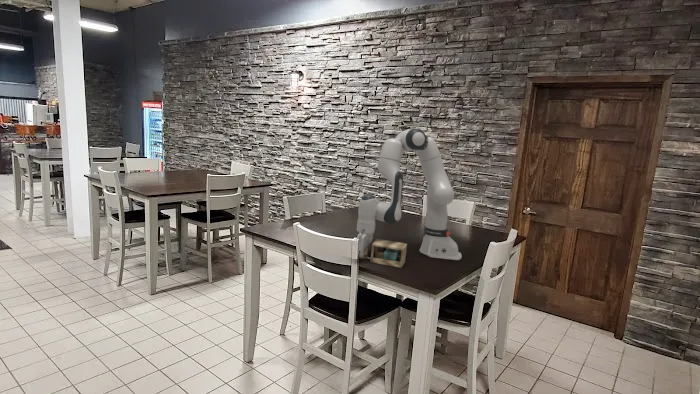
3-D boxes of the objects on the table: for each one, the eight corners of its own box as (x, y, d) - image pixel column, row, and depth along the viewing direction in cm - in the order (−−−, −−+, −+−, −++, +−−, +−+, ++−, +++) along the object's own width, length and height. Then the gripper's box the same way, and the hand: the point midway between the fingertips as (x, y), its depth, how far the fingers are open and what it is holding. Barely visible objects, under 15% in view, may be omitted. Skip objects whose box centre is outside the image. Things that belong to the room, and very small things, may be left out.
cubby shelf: (405, 261, 198) (407, 243, 196) (401, 267, 188) (403, 249, 187) (375, 256, 202) (376, 238, 200) (370, 262, 192) (372, 243, 191)
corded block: (397, 261, 197) (398, 250, 196) (395, 265, 191) (396, 253, 190) (360, 255, 202) (361, 243, 201) (357, 258, 196) (358, 247, 195)
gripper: (366, 233, 185) (364, 261, 187) (376, 224, 204) (374, 250, 207) (353, 231, 187) (351, 259, 189) (364, 222, 206) (362, 248, 209)
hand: (363, 254), depth 198 cm, fingers closed on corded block, 4 cm apart
